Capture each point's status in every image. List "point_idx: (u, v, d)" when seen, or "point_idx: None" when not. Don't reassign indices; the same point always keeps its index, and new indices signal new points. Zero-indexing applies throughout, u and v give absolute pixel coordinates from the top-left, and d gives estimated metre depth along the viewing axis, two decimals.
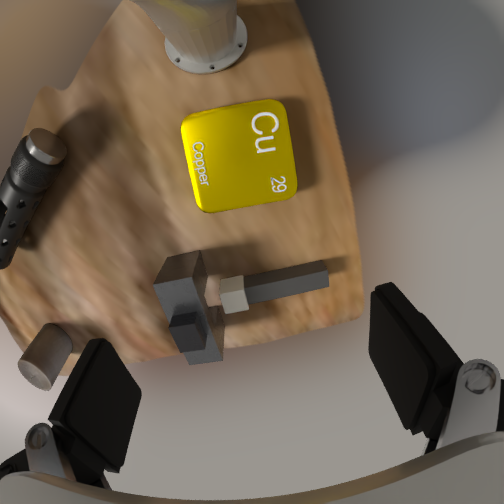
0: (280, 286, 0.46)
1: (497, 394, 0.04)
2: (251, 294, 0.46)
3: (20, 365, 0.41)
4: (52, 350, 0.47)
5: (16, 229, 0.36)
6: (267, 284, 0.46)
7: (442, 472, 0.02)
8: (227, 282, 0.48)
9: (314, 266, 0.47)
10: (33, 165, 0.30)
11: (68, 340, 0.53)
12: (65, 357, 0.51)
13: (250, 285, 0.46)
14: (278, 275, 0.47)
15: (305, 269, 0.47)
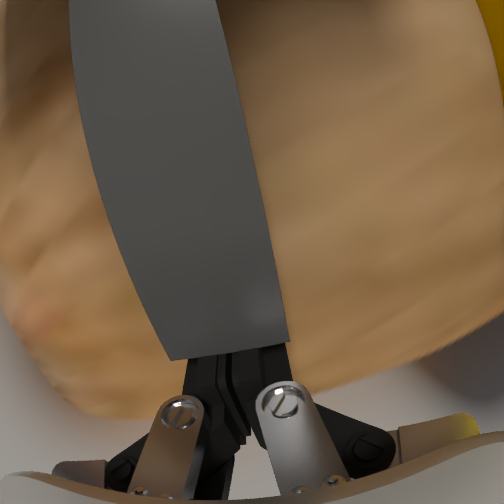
0: (161, 5, 0.04)
1: (314, 406, 0.05)
2: None
3: None
4: None
5: None
6: None
7: (442, 472, 0.02)
8: None
9: None
10: None
11: None
12: None
13: None
14: None
15: None
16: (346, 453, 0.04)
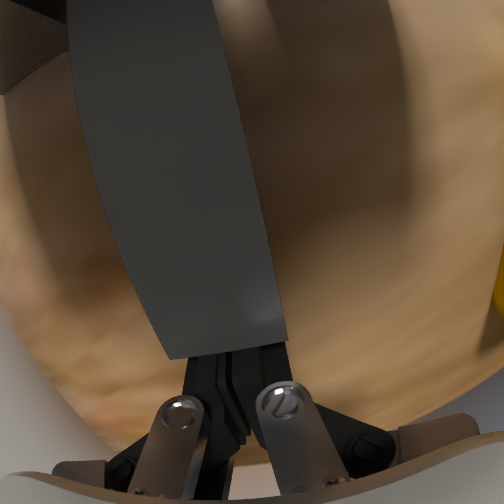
0: (158, 7, 0.04)
1: (314, 406, 0.05)
2: None
3: None
4: None
5: None
6: None
7: (442, 472, 0.02)
8: None
9: None
10: None
11: None
12: None
13: None
14: None
15: None
16: (346, 453, 0.04)
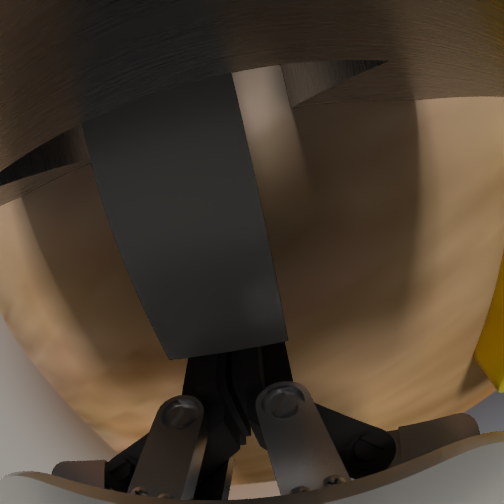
0: None
1: (314, 406, 0.05)
2: None
3: None
4: None
5: None
6: None
7: (442, 472, 0.02)
8: None
9: None
10: None
11: None
12: None
13: None
14: None
15: None
16: (346, 453, 0.04)
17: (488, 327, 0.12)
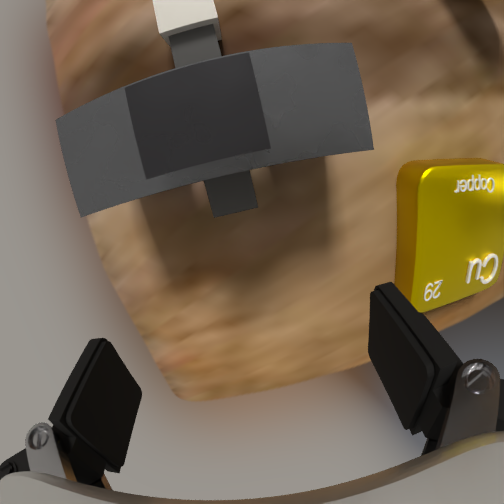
0: None
1: (496, 394, 0.04)
2: (195, 39, 0.15)
3: None
4: None
5: None
6: None
7: (442, 472, 0.02)
8: None
9: None
10: None
11: None
12: None
13: None
14: None
15: None
16: None
17: (397, 266, 0.26)
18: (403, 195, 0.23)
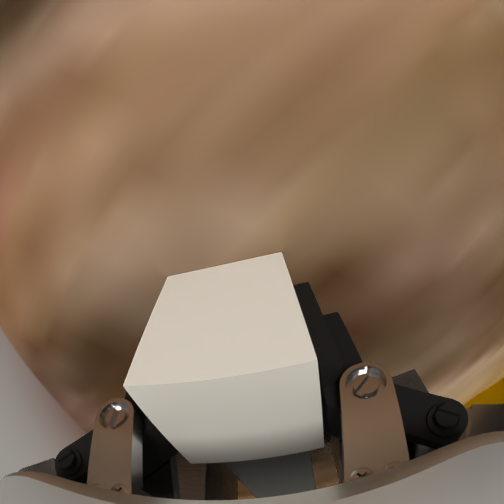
0: (291, 481, 0.10)
1: (393, 390, 0.05)
2: None
3: None
4: None
5: None
6: (309, 465, 0.09)
7: (442, 472, 0.02)
8: None
9: None
10: None
11: None
12: None
13: None
14: None
15: None
16: (428, 424, 0.04)
17: None
18: None
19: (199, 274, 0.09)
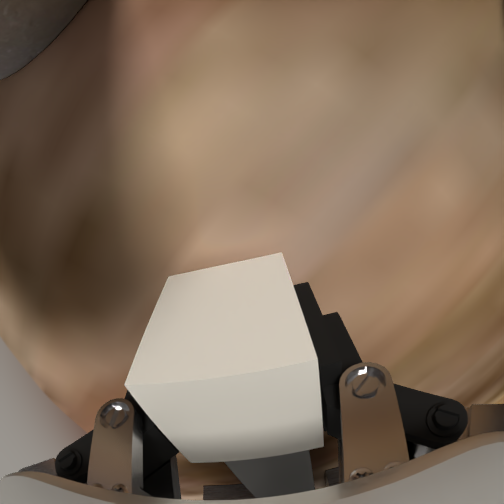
0: (291, 481, 0.10)
1: (392, 391, 0.05)
2: None
3: None
4: None
5: None
6: (309, 464, 0.09)
7: (442, 472, 0.02)
8: None
9: None
10: None
11: (10, 65, 0.05)
12: None
13: None
14: None
15: None
16: (427, 424, 0.04)
17: None
18: None
19: (200, 274, 0.09)
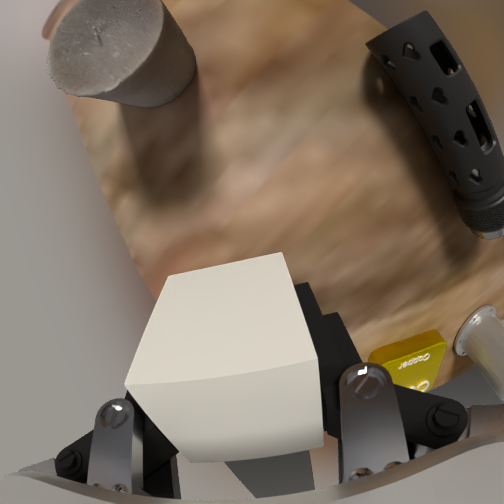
0: (291, 481, 0.10)
1: (392, 391, 0.05)
2: None
3: None
4: (158, 88, 0.20)
5: (446, 135, 0.22)
6: (309, 464, 0.09)
7: (442, 472, 0.02)
8: None
9: None
10: (501, 226, 0.24)
11: (158, 105, 0.26)
12: None
13: None
14: None
15: None
16: (427, 424, 0.04)
17: None
18: None
19: (200, 273, 0.09)
